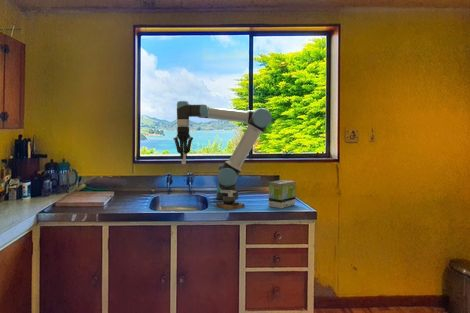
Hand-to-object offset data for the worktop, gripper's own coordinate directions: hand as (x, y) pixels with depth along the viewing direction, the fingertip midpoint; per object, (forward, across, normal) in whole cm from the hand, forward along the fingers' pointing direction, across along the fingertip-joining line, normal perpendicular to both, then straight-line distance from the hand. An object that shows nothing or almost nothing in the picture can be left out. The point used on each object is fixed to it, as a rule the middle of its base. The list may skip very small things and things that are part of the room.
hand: (183, 163), depth 220 cm
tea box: (+25, -42, +45) cm, 66 cm away
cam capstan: (+22, -14, +26) cm, 37 cm away
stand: (+24, -15, +29) cm, 41 cm away
